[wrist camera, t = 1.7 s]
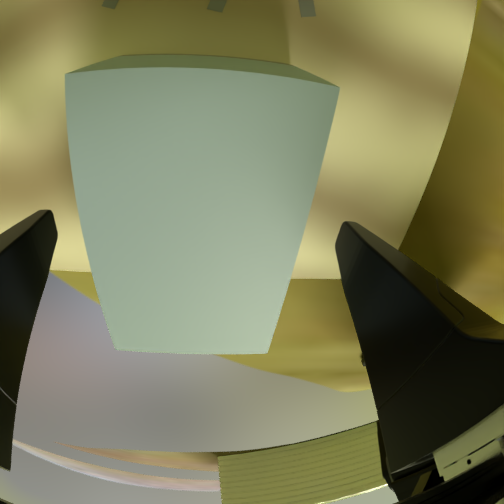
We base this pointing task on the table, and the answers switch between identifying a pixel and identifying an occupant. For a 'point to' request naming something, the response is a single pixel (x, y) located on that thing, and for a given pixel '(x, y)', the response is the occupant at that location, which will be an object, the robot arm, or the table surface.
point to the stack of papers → (305, 470)
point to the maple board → (253, 47)
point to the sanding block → (194, 193)
